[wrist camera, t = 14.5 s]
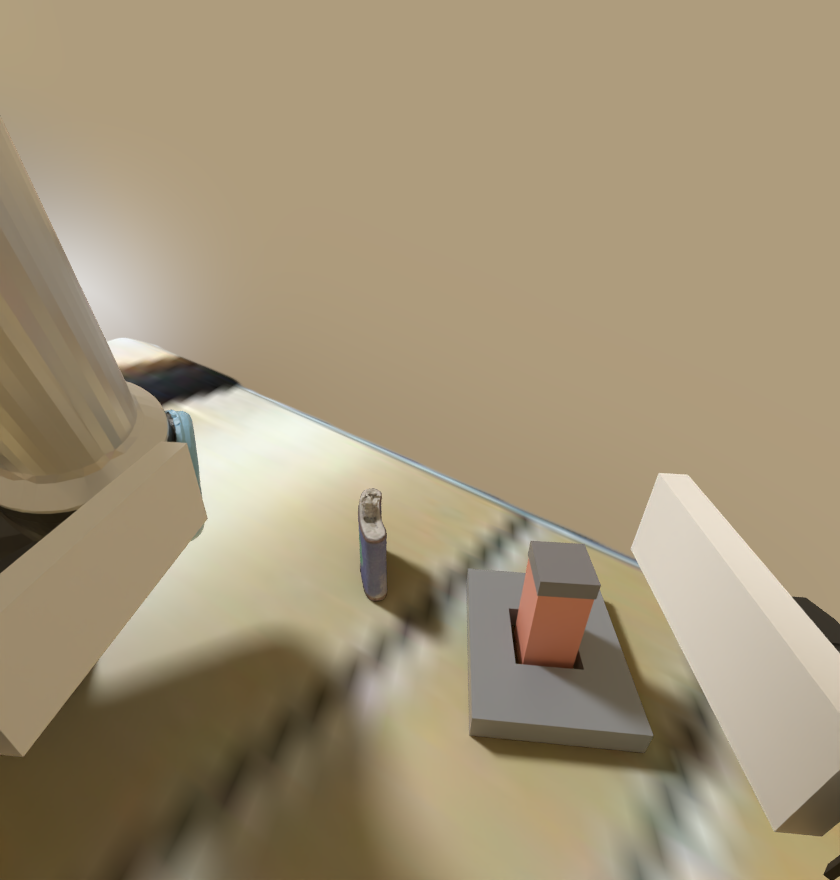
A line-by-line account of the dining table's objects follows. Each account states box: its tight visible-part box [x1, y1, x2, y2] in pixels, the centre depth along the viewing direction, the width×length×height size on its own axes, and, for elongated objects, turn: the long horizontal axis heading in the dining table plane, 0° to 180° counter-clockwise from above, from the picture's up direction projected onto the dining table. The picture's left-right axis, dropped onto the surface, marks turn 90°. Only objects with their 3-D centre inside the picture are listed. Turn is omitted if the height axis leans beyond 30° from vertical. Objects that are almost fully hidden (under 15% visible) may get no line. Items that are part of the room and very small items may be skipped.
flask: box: [358, 488, 387, 601], centre depth 48 cm, size 9×3×11 cm, turn 9°
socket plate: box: [466, 569, 653, 753], centre depth 41 cm, size 14×16×2 cm
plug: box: [514, 541, 601, 669], centre depth 39 cm, size 5×5×12 cm
